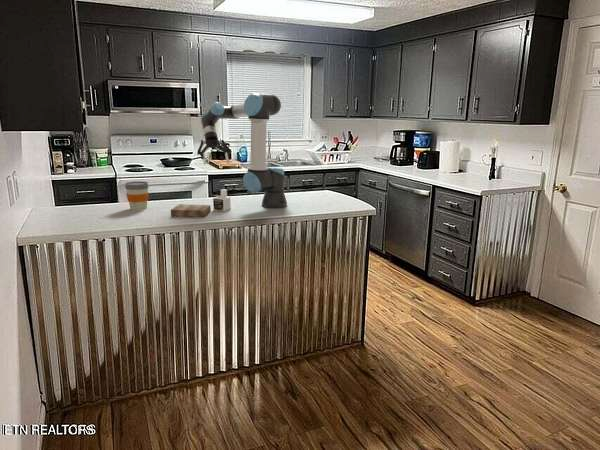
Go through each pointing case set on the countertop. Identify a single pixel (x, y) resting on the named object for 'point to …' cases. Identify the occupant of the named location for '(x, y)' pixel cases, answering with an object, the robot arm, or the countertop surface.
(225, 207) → the medicine bottle
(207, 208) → the block
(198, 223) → the countertop surface
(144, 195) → the reusable coffee cup
